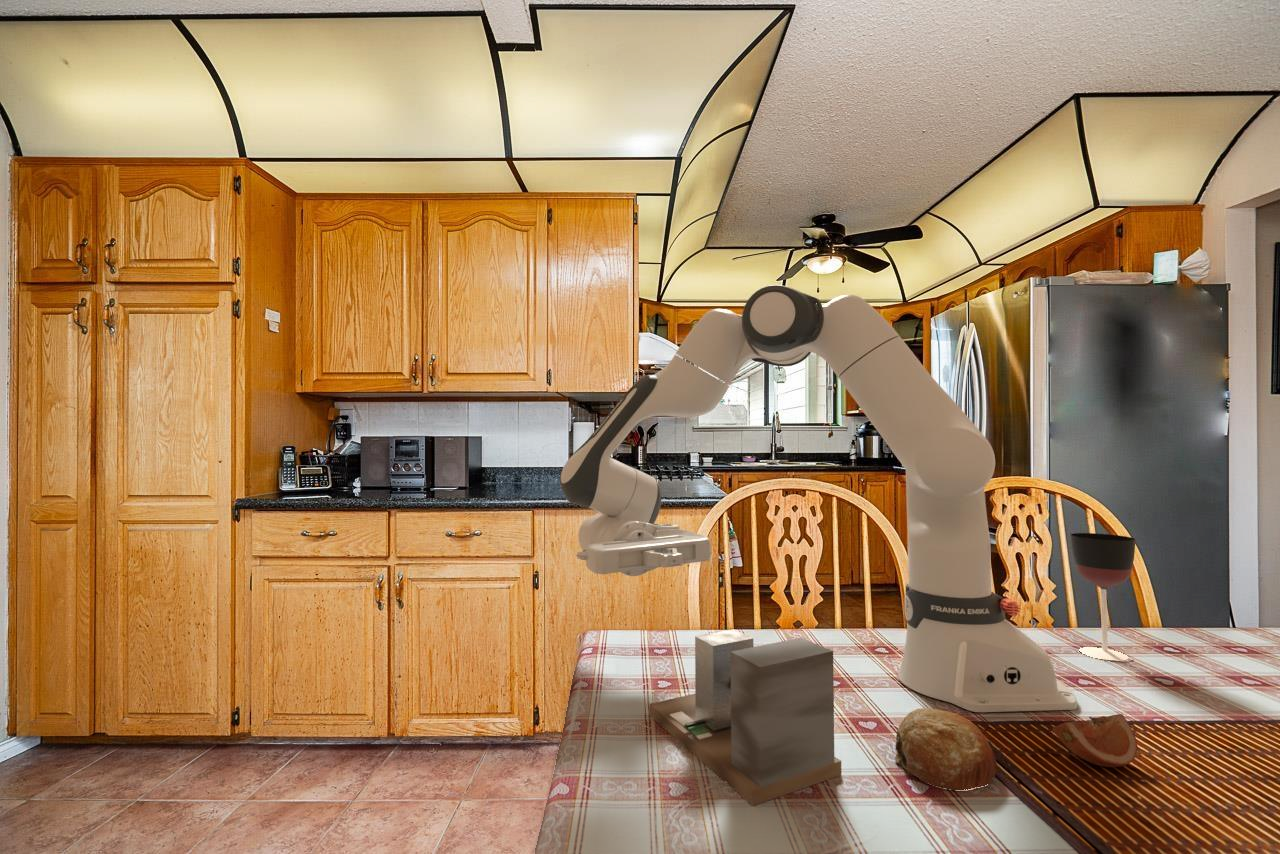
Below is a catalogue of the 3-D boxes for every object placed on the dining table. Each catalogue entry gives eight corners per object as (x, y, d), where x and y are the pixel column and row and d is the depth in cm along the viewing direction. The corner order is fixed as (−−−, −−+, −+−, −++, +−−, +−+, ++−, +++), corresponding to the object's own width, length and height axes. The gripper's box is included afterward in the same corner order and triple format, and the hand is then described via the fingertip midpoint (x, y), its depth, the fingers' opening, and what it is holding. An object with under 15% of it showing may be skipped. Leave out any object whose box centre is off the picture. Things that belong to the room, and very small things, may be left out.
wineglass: (1073, 643, 106) (1070, 531, 107) (1136, 652, 101) (1132, 536, 102) (1073, 655, 100) (1070, 537, 100) (1140, 667, 95) (1137, 542, 95)
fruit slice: (1090, 781, 63) (1089, 734, 63) (1036, 749, 69) (1035, 706, 70) (1153, 772, 65) (1152, 726, 65) (1094, 742, 71) (1093, 700, 71)
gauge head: (677, 721, 72) (677, 639, 73) (734, 707, 76) (734, 629, 77) (709, 747, 66) (709, 657, 67) (769, 730, 70) (769, 645, 70)
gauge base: (649, 715, 78) (649, 613, 79) (723, 697, 84) (723, 601, 84) (753, 805, 59) (751, 668, 59) (841, 774, 64) (839, 649, 64)
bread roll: (894, 776, 70) (865, 716, 70) (967, 735, 71) (939, 676, 71) (944, 830, 60) (911, 760, 60) (1027, 782, 61) (995, 713, 61)
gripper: (572, 533, 93) (607, 545, 80) (683, 523, 102) (730, 533, 90) (572, 574, 92) (608, 592, 80) (684, 560, 102) (731, 574, 89)
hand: (674, 561), depth 85 cm, fingers closed
